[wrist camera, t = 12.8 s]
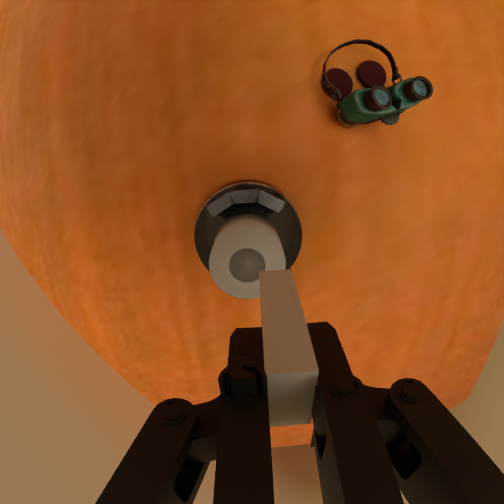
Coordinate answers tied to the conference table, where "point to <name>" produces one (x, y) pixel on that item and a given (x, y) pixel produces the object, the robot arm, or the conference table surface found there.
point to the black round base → (255, 200)
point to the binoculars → (372, 91)
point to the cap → (245, 254)
